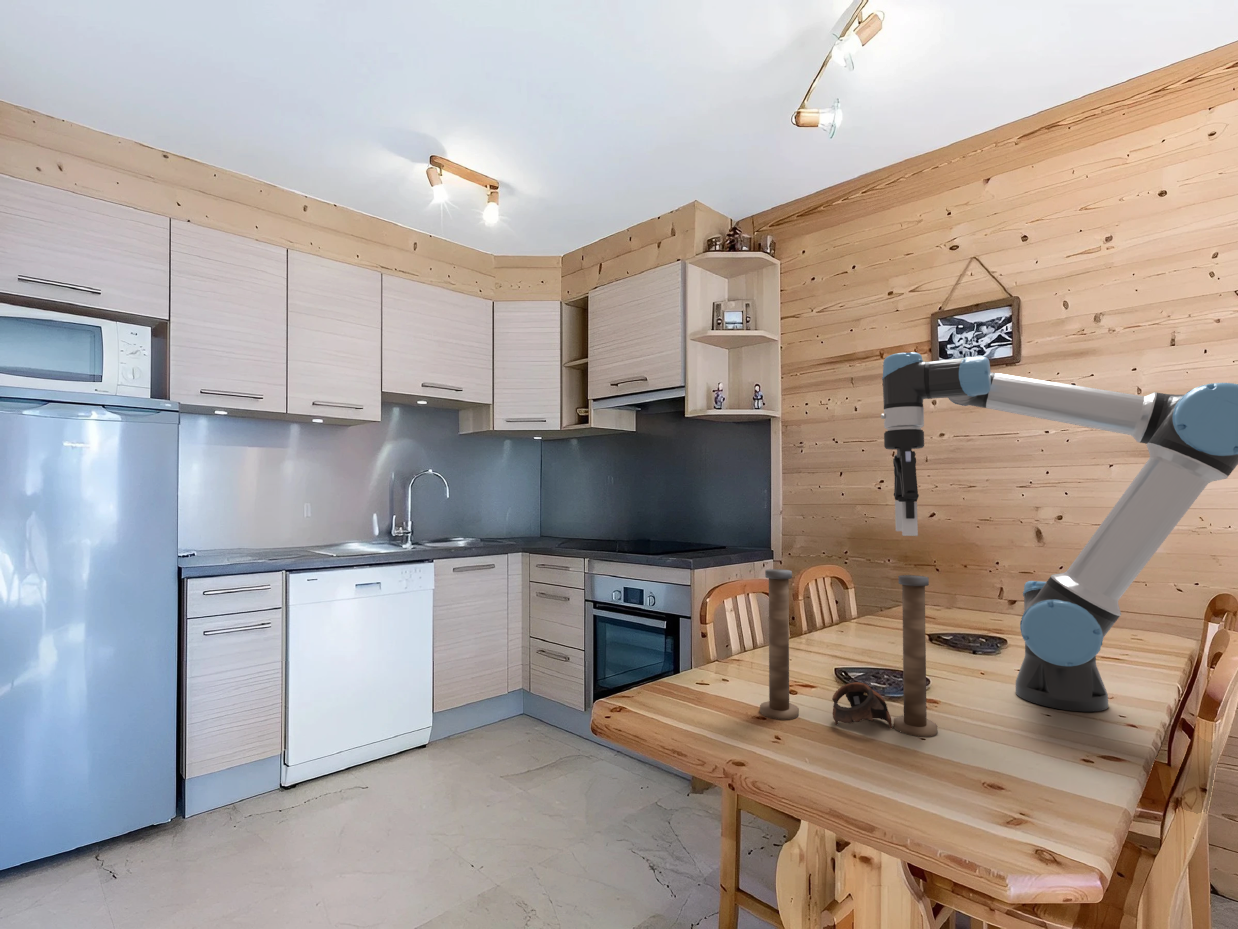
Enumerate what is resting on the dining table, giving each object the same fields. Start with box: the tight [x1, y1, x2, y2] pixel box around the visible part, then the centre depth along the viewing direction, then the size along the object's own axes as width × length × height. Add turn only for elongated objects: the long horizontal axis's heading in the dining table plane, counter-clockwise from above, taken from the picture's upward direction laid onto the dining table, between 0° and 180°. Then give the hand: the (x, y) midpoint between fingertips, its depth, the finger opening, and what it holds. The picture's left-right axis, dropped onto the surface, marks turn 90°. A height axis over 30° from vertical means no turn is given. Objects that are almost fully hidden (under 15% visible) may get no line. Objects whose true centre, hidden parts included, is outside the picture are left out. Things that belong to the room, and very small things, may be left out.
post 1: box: [759, 568, 800, 721], centre depth 120 cm, size 7×7×26 cm
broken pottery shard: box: [831, 681, 894, 729], centre depth 115 cm, size 12×10×8 cm
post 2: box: [892, 574, 939, 738], centre depth 113 cm, size 7×7×26 cm
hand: (906, 533), depth 132 cm, fingers open, 13 cm apart
